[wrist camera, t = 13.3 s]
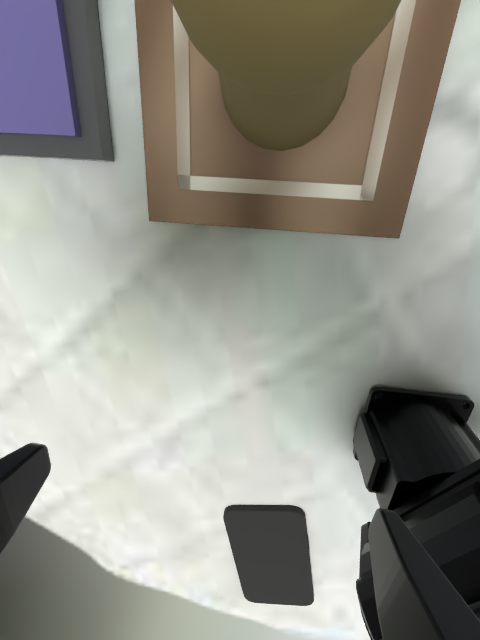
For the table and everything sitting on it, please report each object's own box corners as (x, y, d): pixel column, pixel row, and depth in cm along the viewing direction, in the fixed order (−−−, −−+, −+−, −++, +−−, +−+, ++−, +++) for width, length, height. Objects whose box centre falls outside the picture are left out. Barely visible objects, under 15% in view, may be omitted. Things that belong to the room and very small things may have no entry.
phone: (244, 602, 33) (220, 510, 28) (245, 593, 34) (221, 501, 28) (315, 607, 32) (305, 511, 26) (314, 597, 33) (304, 501, 27)
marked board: (496, -153, 11) (505, -166, 11) (396, 237, 17) (399, 238, 17) (129, -140, 13) (123, -153, 12) (151, 219, 18) (148, 220, 18)
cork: (224, 154, 16) (132, 108, 6) (215, -1, 14) (40, -497, 4) (344, 147, 15) (463, 81, 5) (357, -18, 13) (623, -698, 3)
